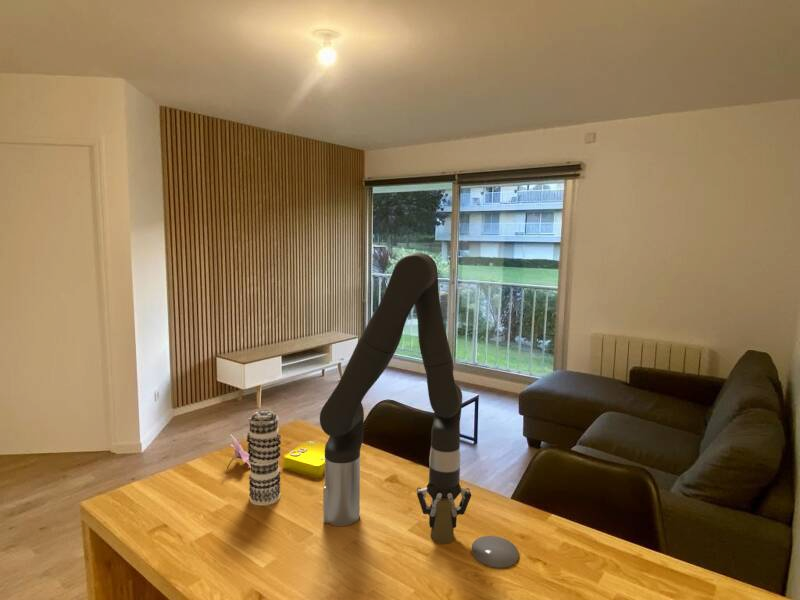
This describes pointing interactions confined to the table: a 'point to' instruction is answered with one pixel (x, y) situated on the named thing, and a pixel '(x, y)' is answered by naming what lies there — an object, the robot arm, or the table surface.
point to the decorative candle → (264, 458)
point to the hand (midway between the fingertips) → (442, 527)
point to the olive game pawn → (443, 523)
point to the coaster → (495, 551)
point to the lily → (239, 452)
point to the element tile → (306, 459)
